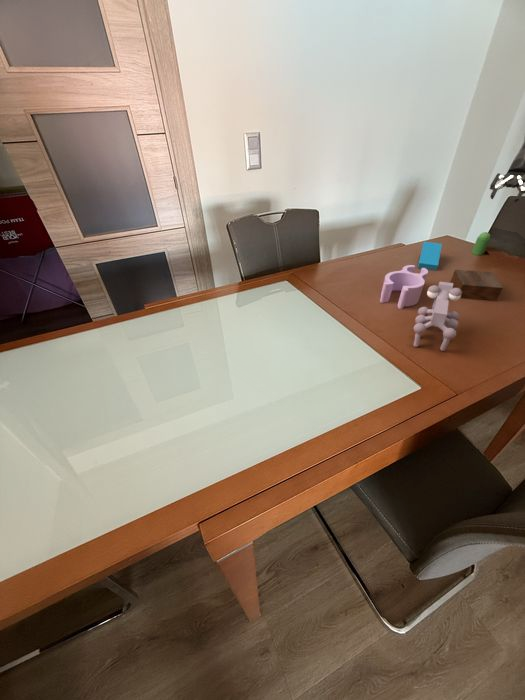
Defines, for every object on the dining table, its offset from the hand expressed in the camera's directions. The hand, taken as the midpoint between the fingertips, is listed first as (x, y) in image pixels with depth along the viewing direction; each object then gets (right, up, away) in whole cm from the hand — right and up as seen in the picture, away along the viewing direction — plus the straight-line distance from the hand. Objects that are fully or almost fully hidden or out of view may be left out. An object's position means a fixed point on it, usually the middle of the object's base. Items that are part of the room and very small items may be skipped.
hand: (503, 199), depth 127 cm
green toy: (-7, -21, +6) cm, 23 cm away
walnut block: (-27, -43, -19) cm, 54 cm away
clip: (-52, -44, -19) cm, 71 cm away
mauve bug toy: (-51, -58, -37) cm, 86 cm away
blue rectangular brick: (-31, -26, +2) cm, 40 cm away
